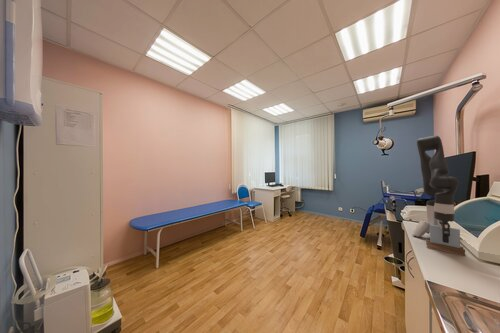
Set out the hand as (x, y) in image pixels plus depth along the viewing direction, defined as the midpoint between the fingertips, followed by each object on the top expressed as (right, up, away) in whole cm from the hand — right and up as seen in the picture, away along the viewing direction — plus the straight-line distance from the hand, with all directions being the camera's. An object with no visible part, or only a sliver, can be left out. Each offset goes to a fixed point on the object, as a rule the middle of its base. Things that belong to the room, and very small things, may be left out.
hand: (444, 239), depth 95 cm
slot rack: (0, -6, 0) cm, 6 cm away
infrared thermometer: (+15, -7, +17) cm, 24 cm away
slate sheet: (0, -6, 0) cm, 6 cm away
